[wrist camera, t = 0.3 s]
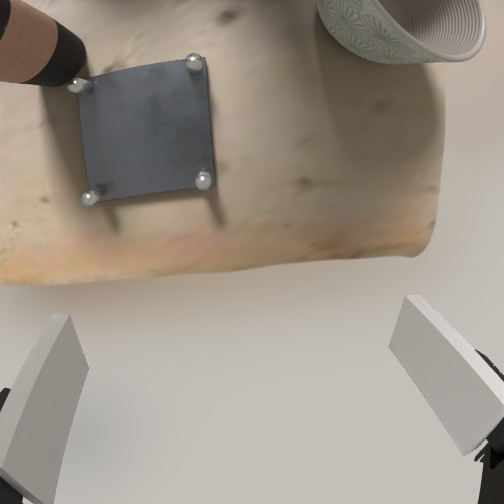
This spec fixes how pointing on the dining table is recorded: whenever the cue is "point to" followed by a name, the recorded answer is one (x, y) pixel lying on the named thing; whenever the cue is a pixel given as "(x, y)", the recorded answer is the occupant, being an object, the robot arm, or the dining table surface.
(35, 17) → the travel mug
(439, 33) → the planter
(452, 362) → the robot arm
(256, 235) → the dining table surface
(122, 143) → the stand
